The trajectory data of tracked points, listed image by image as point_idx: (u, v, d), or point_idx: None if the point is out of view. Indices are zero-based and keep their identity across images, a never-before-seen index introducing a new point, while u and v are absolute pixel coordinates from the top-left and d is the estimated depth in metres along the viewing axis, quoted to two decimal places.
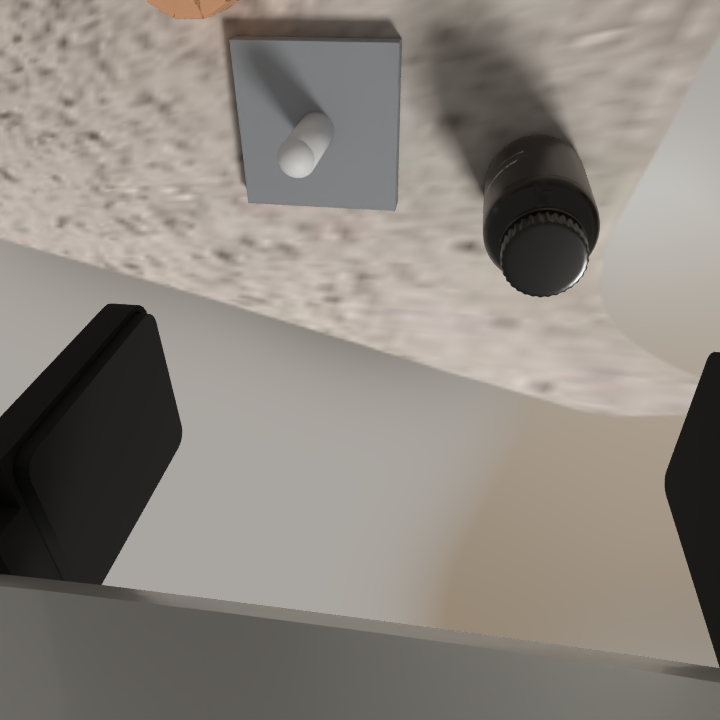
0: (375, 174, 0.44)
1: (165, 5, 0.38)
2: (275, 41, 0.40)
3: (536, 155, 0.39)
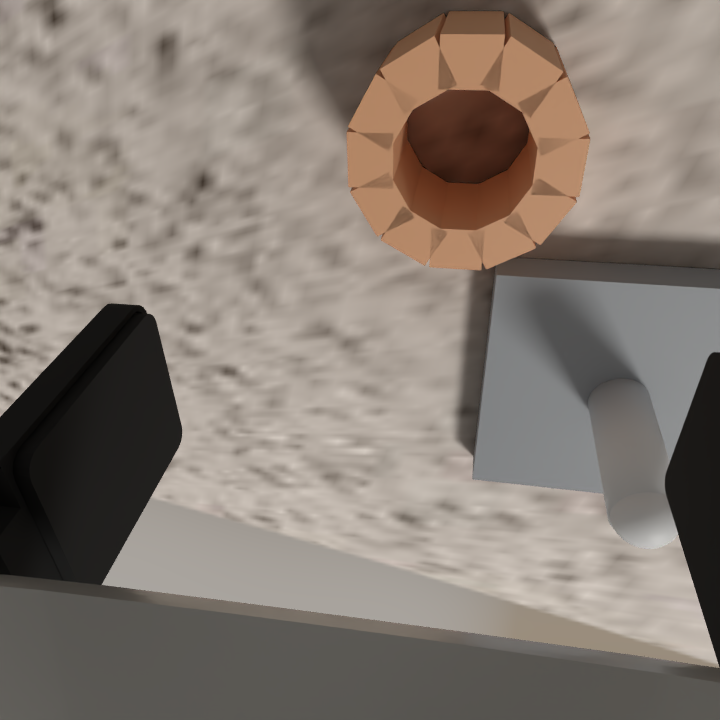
0: None
1: (415, 247, 0.21)
2: (581, 281, 0.23)
3: None
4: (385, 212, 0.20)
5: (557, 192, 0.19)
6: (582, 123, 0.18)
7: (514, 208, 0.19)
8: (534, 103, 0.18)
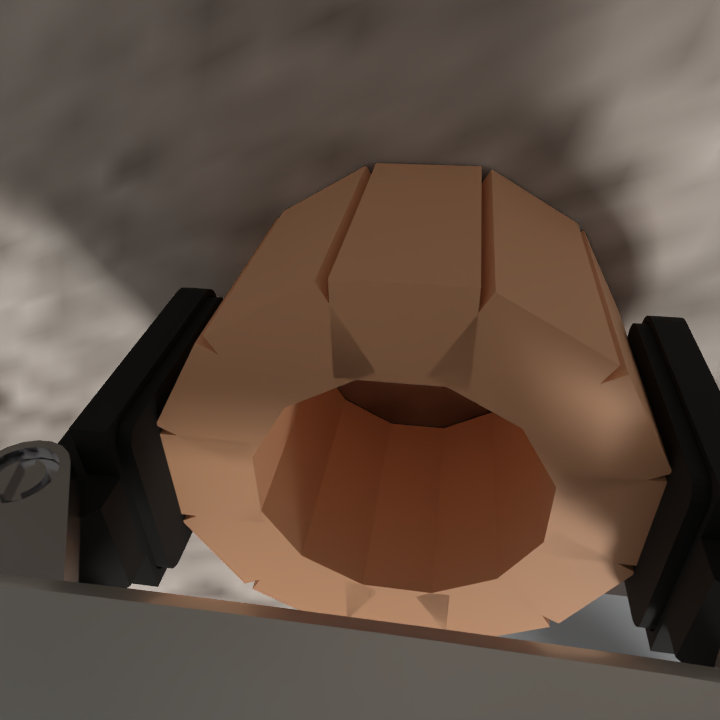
0: None
1: (318, 603, 0.11)
2: (623, 597, 0.13)
3: None
4: (255, 554, 0.10)
5: (595, 556, 0.09)
6: (657, 456, 0.08)
7: (506, 569, 0.10)
8: (549, 417, 0.08)
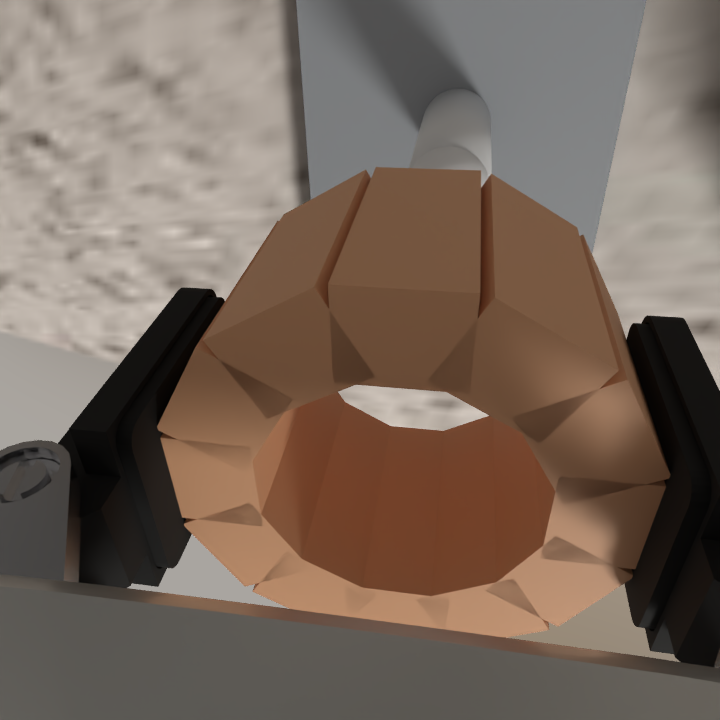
0: (561, 206, 0.24)
1: (318, 605, 0.11)
2: None
3: None
4: (255, 557, 0.10)
5: (595, 559, 0.09)
6: (656, 460, 0.08)
7: (506, 573, 0.10)
8: (548, 421, 0.08)
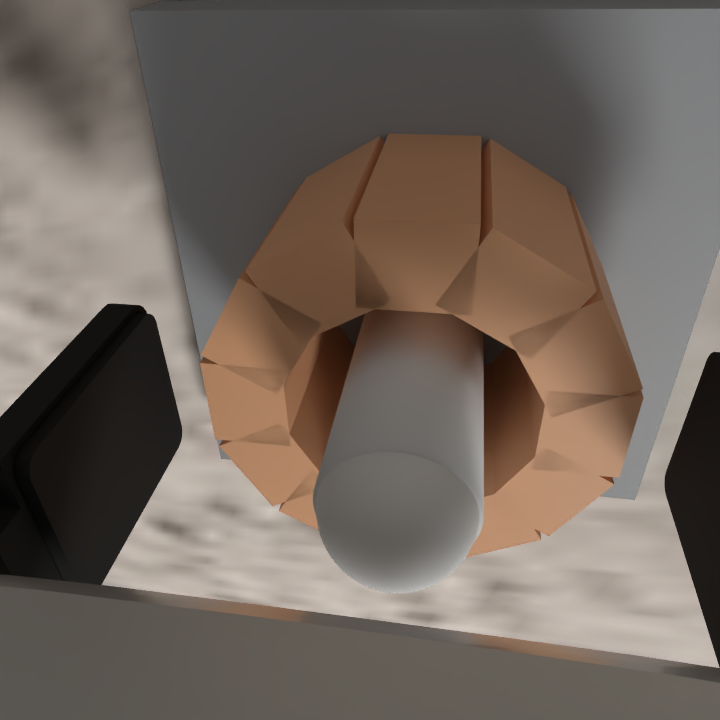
0: None
1: None
2: (297, 13, 0.11)
3: None
4: (283, 477, 0.12)
5: (580, 469, 0.11)
6: (630, 373, 0.09)
7: (503, 485, 0.11)
8: (538, 339, 0.09)
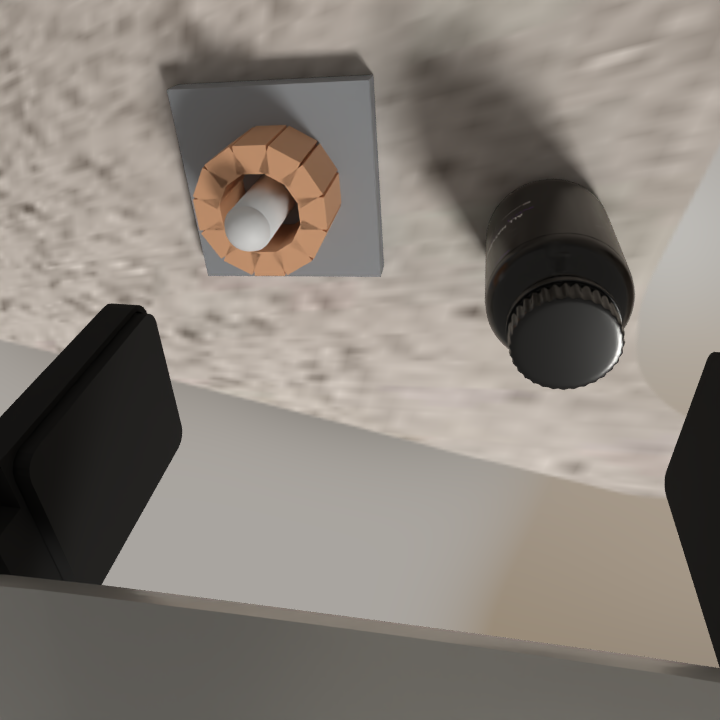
0: (353, 236, 0.37)
1: (244, 263, 0.35)
2: (221, 88, 0.34)
3: (546, 206, 0.31)
4: (223, 244, 0.34)
5: (314, 227, 0.33)
6: (317, 189, 0.32)
7: (294, 238, 0.33)
8: (289, 180, 0.32)
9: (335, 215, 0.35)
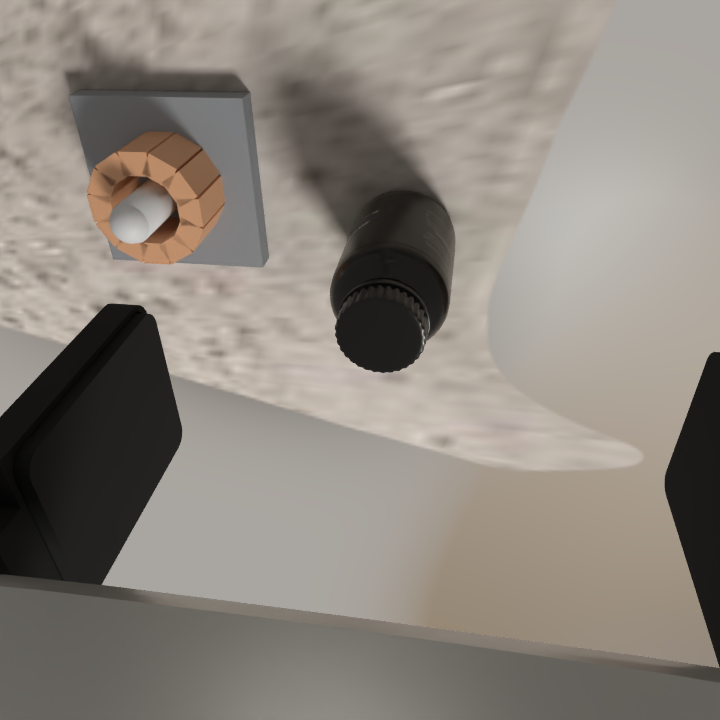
0: (237, 231, 0.42)
1: (134, 252, 0.40)
2: (115, 97, 0.38)
3: (387, 217, 0.37)
4: None
5: (192, 224, 0.38)
6: (192, 192, 0.37)
7: (175, 232, 0.38)
8: (168, 183, 0.37)
9: (216, 213, 0.40)
